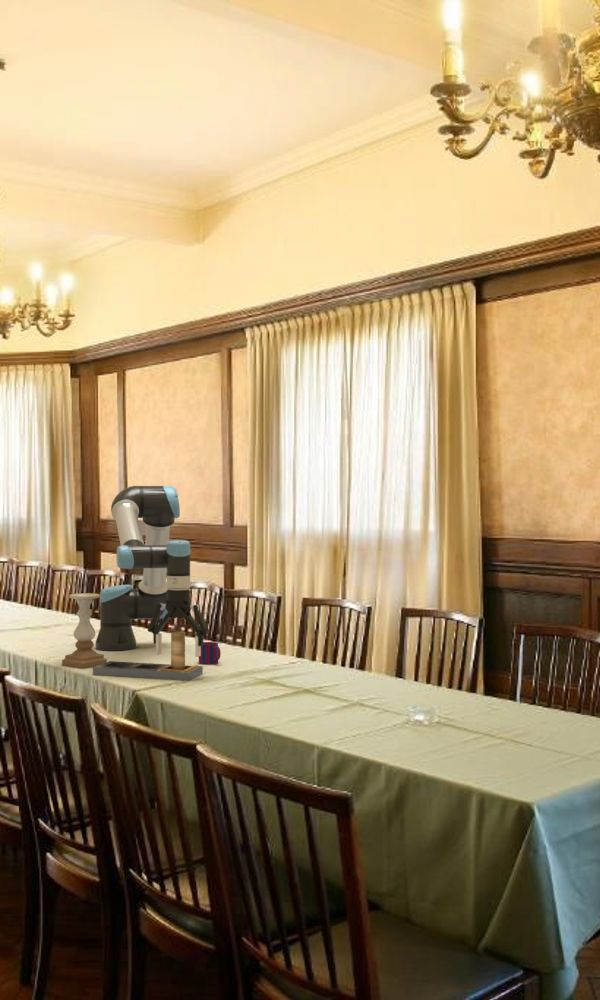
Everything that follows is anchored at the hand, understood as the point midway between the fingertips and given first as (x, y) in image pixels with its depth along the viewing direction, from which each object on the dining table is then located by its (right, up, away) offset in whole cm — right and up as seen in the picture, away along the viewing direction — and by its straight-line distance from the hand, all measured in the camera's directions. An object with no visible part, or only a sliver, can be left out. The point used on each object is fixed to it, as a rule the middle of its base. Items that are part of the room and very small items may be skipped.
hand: (178, 655), depth 323 cm
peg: (0, -7, 0) cm, 7 cm away
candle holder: (-34, -7, +20) cm, 40 cm away
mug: (+8, -7, +24) cm, 26 cm away
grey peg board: (-10, -7, +3) cm, 12 cm away
